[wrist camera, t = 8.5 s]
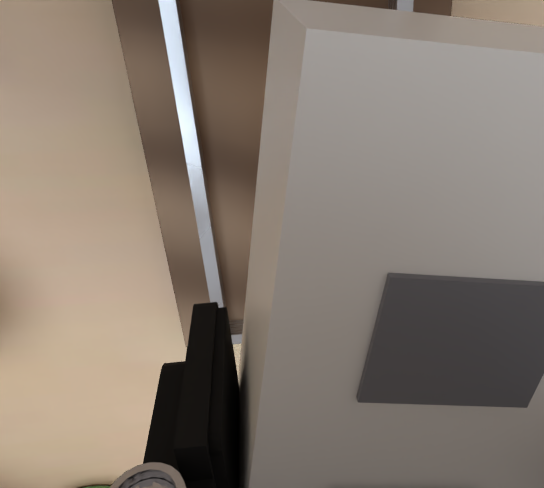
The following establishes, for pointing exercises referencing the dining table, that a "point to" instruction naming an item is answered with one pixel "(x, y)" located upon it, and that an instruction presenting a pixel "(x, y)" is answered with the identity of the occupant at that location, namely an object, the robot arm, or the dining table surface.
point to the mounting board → (207, 132)
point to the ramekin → (98, 487)
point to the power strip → (396, 254)
